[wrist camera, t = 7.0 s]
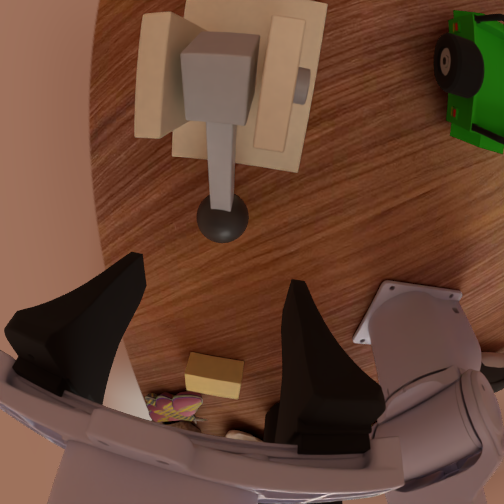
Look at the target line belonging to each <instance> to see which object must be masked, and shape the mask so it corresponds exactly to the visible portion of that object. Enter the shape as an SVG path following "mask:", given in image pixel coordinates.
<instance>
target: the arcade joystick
mask: <svg viewBox="0 0 504 504" xmlns="http://www.w3.org/2000/svg"><path fill="white" fill-rule="evenodd" d="M259 45H260V35H255V34H245V33H231V32H207V31H202V32H200V33H199V35H198V36H197V37H196V38H195V39H194V40H193V41H192V42H191V43H190V44H189V45H188V46H187V47H186V48H185V49H184V50H183V51H182V52H181V54H180V58H181V72H182V85H183V96H184V107H185V118H186V120H189V121H202V122H206V139H207V158H208V175H209V190H210V195H208V196H207V197H206V198H205V199H204V200H203V201H202V202H201V204H200V205H199V208H198V211H197V224H198V227H199V229H200V231H201V232H202V234H203V235H204V236H205V237H206V238H208V239H209V240H211V241H214V242H217V243H228V242H231V241H234V240H235V239H237V238H238V237H240V236H241V235H242V234H243V232H244V231H245V229H246V227H247V224H248V219H249V215H248V209H247V207H246V205H245V203H244V201H243V200H242V199H241V198H240V197H239V196H237V195H236V194H234V178H235V154H236V132H237V125H241V126H245V125H246V122H247V119H248V115H249V112H250V108H251V104H252V101H253V97H254V94H255V84H256V74H257V64H258V54H259Z"/></svg>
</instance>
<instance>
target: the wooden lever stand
mask: <svg viewBox="0 0 504 504" xmlns="http://www.w3.org/2000/svg"><path fill="white" fill-rule="evenodd" d="M327 6H328V5H327V4H326V3H321V2H317V1H312V0H186V5H185V12H184V18H183V17H181V16H179V15H177V14H175V13H173V12H170V11H169V12H157V13H147V14H144V15H143V18H142V25H141V33H140V42H139V51H138V62H137V75H136V93H135V125H134V136H135V137H136V138H156V139H159V138H162V137H163V136H165V135H167V134H168V133H170V132H172V131H173V137H172V156H176V157H187V158H197V159H206V160H208V158H207V139H206V122H202V121H189V120H186V118H185V107H184V96H183V85H182V72H181V58H180V54H181V52H182V51H183V50H184V49H185V48H186V47H187V46H188V45H189V44H190V43H191V42H192V41H193V40H194V39H195V38H196V37H197V36H198V35H199V33H200V32H202V31H207V32H231V33H245V34H255V35H260V45H259V54H258V64H257V74H256V84H255V94H254V97H253V101H252V104H251V108H250V112H249V115H248V119H247V122H246V125H245V126H241V125H237V132H236V154H235V163H238V164H245V165H252V166H259V167H265V168H271V169H277V170H283V171H289V172H295V173H297V172H298V169H299V164H300V159H301V154H302V149H303V144H304V139H305V134H306V128H307V123H308V118H309V113H310V107H311V102H312V96H313V91H314V85H315V79H316V74H317V68H318V62H319V56H320V50H321V44H322V38H323V32H324V25H325V19H326V12H327Z"/></svg>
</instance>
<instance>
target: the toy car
mask: <svg viewBox="0 0 504 504" xmlns="http://www.w3.org/2000/svg"><path fill="white" fill-rule="evenodd" d="M453 13H454V19H450V20H448V22H449V33H446V34H443V35H442V36H441V37H440V38H439V39H438V41H437V44H436V47H435V52H434V73H435V77H436V81H437V83H438V85H439V86H440V88H441V89H442V90H443V91H445V92H447V93H448V105H447V115H446V121H448V122H451V131H450V136H452V137H455V138H457V139H460V140H463V141H465V142H468V143H470V144H472V145H475V146H477V147H480V148H483V149H487V150H490V151H494V152H497V153H500V154H503V149H504V24H502V23H500V22H498V21H500V20H502V21H504V15H503V14H489V15H485V14H482V13H475V12H467V11H457V10H453Z"/></svg>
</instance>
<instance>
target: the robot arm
mask: <svg viewBox="0 0 504 504" xmlns="http://www.w3.org/2000/svg"><path fill="white" fill-rule="evenodd" d="M391 286H393V287H391ZM145 288H146V279H145V271H144V262H143V254H140V253H135V252H131V253H129V254H128V255H126V256H125V257H123V258H122V259H120V260H119V261H118V262H116V263H115V264H114V265H112V266H111V267H109V268H108V269H106V270H105V271H104V272H102V273H101V274H99V275H98V276H96V277H95V278H93V279H92V280H90V281H89V282H87V283H85V284H84V285H82V286H80V287H79V288H77V289H75V290H73V291H71V292H69V293H67V294H65V295H63V296H60V297H58V298H56V299H54V300H52V301H49V302H46V303H43V304H41V305H38V306H35V307H31V308H27V309H23V310H20V311H17V312H16V313H15V314H14V316H13V317H12V319H11V320H10V321H9V323H8V324H7V326H6V327H5V329H4V332H5V336H6V338H7V340H8V341H9V343H10V344H11V346H12V347H13V349H14V350H15V352H16V353H17V355H18V358H17V360H15V359H14V358H13V357H11V356H10V355H8V354H6V353H5V352H3V351H1V350H0V409H2V410H3V411H4V412H6V413H8V414H9V415H10V416H12V417H13V418H15V419H16V420H17V421H19V422H20V423H22V424H24V425H25V426H27V427H28V428H30V429H31V430H33V431H34V432H36V433H38V434H39V435H41V436H42V437H44V438H46V439H48V440H49V441H51V442H53V443H54V444H56V445H58V446H60V447H62V448H64V449H65V451H64V454H63V457H62V459H61V462H60V465H59V468H58V471H57V474H56V477H55V480H54V483H53V486H52V489H51V493H50V496H49V499H48V503H47V504H257V503H267V504H301V503H320V502H333V501H343V500H352V499H360V498H367V497H374V496H377V495H380V494H383V493H385V496H386V499H387V502H388V504H487V501H486V497H485V493H484V489H483V487H484V486H485V484H486V483H487V482H488V481H489V479H490V478H491V477H492V475H493V474H494V472H495V471H496V470H497V468H498V467H499V465H500V463H501V462H502V460H503V458H504V427H503V422H502V416H501V411H500V408H499V404H498V401H497V399H496V396H495V394H494V391H493V389H492V387H491V385H490V384H489V382H488V380H487V379H486V377H485V376H484V375H483V374H482V373H481V372H480V368H481V358H482V356H481V348H480V345H479V342H478V340H477V338H476V336H475V333H474V331H473V329H472V327H471V325H470V323H469V321H468V319H467V317H466V315H465V313H464V311H463V309H462V307H461V306H460V304H459V300H460V299H461V297H462V293H461V291H459V290H452V289H445V288H438V287H431V286H424V285H417V284H410V283H403V282H397V281H390V280H386V281H384V282H382V284H381V286H380V288H379V290H378V292H377V294H376V296H375V298H374V300H373V301H372V303H371V305H370V307H369V309H368V311H367V313H366V315H365V317H364V318H363V320H362V322H361V324H360V326H359V327H358V329H357V331H356V333H355V334H354V336H353V338H352V339H353V342H354V343H359V344H371V345H372V350H373V354H374V359H375V364H376V369H377V374H378V379H379V384H378V383H376V382H375V381H374V380H373V379H371V378H370V377H369V376H368V375H367V374H366V373H365V372H364V371H362V370H361V369H360V368H359V367H358V366H357V365H356V364H355V363H354V361H353V360H352V359H351V358H350V357H349V356H348V355H347V354H346V352H345V351H344V350H343V349H342V347H341V346H340V345H339V343H338V342H337V341H336V339H335V338H334V336H333V335H332V333H331V332H330V330H329V329H328V327H327V325H326V324H325V322H324V320H323V318H322V317H321V315H320V313H319V311H318V309H317V307H316V305H315V303H314V301H313V299H312V296H311V294H310V292H309V290H308V287H307V285H306V283H305V281H300V280H294V279H292V280H291V283H290V287H289V290H288V294H287V297H286V301H285V304H284V308H283V314H282V326H281V337H282V386H281V396H280V406H279V414H278V422H277V429H276V436H275V442H274V443H265V442H255V441H247V440H239V439H232V438H226V437H220V436H214V435H208V434H203V433H198V432H193V431H189V430H184V429H180V428H176V427H171V426H167V425H164V424H160V423H156V422H152V421H149V420H145V419H142V418H139V417H135V416H132V415H129V414H126V413H123V412H120V411H117V410H114V409H111V408H108V407H106V406H103V405H102V404H103V399H104V394H105V389H106V385H107V381H108V377H109V373H110V370H111V367H112V363H113V360H114V357H115V354H116V351H117V349H118V345H119V343H120V341H121V339H122V336H123V334H124V333H125V331H126V329H127V327H128V325H129V323H130V321H131V319H132V317H133V315H134V313H135V311H136V309H137V308H138V306H139V304H140V301H141V299H142V296H143V294H144V291H145ZM376 420H377V423H375V424H374V425H373V426H371V424H372V423H373V422H374V421H376Z"/></svg>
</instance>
